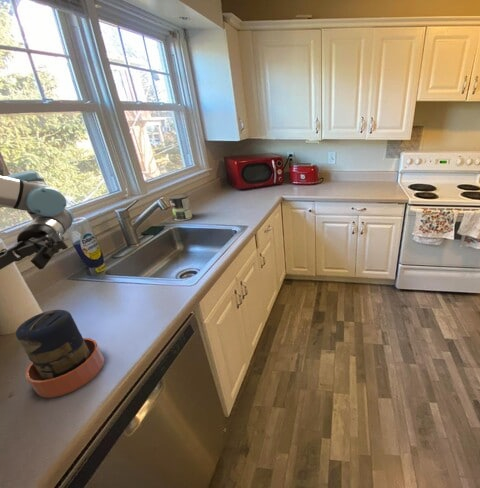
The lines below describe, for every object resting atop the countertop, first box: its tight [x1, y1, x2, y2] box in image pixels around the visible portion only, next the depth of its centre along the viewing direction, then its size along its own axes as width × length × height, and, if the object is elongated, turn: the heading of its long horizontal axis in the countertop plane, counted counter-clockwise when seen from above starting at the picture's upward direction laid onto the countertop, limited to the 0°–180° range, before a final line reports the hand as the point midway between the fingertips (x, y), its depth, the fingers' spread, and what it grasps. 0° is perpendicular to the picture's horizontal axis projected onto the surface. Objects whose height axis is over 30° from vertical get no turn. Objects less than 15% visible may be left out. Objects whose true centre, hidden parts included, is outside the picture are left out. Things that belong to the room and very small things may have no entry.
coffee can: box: [168, 193, 193, 222], centre depth 171 cm, size 10×10×14 cm
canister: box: [15, 309, 92, 381], centre depth 67 cm, size 10×10×18 cm
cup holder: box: [25, 337, 105, 398], centre depth 70 cm, size 13×13×6 cm
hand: (2, 277), depth 63 cm, fingers open, 13 cm apart
